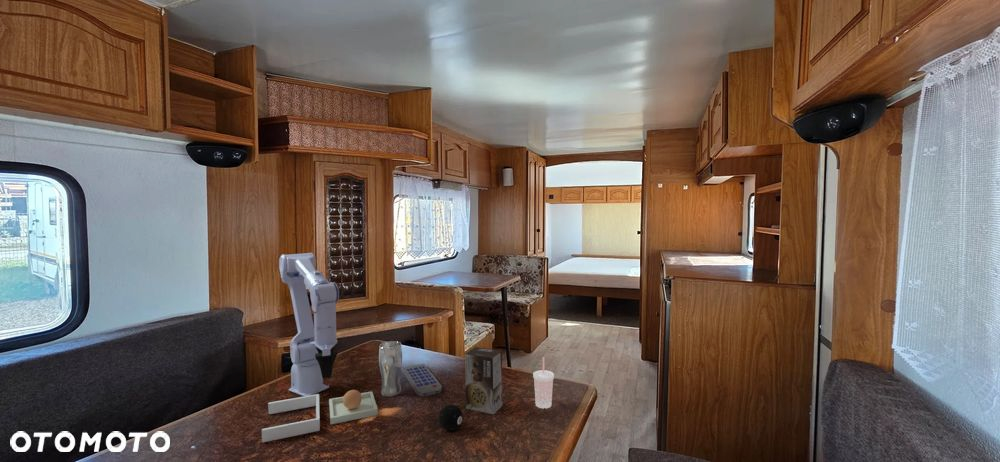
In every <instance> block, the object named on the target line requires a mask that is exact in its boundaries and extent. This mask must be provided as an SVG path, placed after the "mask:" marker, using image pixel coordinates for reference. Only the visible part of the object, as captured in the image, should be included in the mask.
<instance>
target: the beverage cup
mask: <svg viewBox="0 0 1000 462" xmlns="http://www.w3.org/2000/svg"><path fill="white" fill-rule="evenodd" d="M532 378H533V383H534V397H535V399H534V401H535V406H536V407H538V408H539V409H544V408H545V409H549V408H551V407H552V402H553V388H554V387H553V386H554V379H555V373H554V372H553V371H550V370H547V369H546V370H545V356H542V369H539V370H535V371H533V373H532Z"/></svg>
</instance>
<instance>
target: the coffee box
mask: <svg viewBox="0 0 1000 462" xmlns="http://www.w3.org/2000/svg"><path fill="white" fill-rule="evenodd" d="M502 352H503V351H502V350H500V349H499V350H498V349H492V348H485V347H479V346H474V347H473V348H471V349H469V351H467V352H465V353H464V364H465V365H464V367H465V369H464V371H465V409H466V410H470V411H475V412H481V413H485V414H490V415H495V414H496V413H497V412H498V411H499V410H500V409H501V408H502V407H503V353H502Z"/></svg>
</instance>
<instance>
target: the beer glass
mask: <svg viewBox="0 0 1000 462" xmlns="http://www.w3.org/2000/svg"><path fill="white" fill-rule="evenodd" d="M378 365H379V371H380V374H381V375H380V376H381V390H380V394H381V396H383V397H389V398H390V397H395V396H397V395H400V394H401V393H402V386H401V379H400V378H401V372H402V367H403V366H402V365H403V350H402V343H401V341H394V340H393V341H392V340H391V341H386V342H382V343H380V344H379V350H378Z"/></svg>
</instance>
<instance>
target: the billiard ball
mask: <svg viewBox="0 0 1000 462" xmlns="http://www.w3.org/2000/svg"><path fill="white" fill-rule="evenodd" d="M463 418H464V415H463V411H462V409H461V408H460V407H459V406H458V405H457V404H456V405H455V404H447V405H445V406H443V407H442V409H441V410H440V412H439V414H438V422H439V424H440V426H441V427H442V429H444V430H445V431H455V430H457V429H458V428H460V426H461V424H462V423H463V420H464V419H463Z"/></svg>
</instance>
